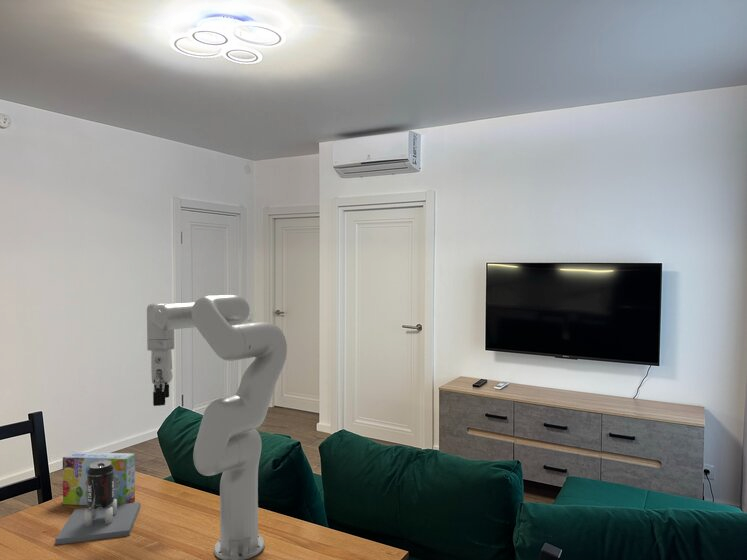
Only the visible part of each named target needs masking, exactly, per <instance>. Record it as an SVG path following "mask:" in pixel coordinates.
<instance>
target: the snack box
mask: <svg viewBox="0 0 747 560" xmlns="http://www.w3.org/2000/svg"><path fill="white" fill-rule="evenodd" d="M102 460H108V461H111V465H113V466H114V499H117V505H119V504H128V503H135V500H136V454H135V453H130V452H129V453H127V452H125V453H123V452H88V451H87V452H86V451H71V453H70V452H69V454H67V455H65V456H62V505H66V506H67V505H68V506H69V505H70V506H71V505H72V506H73V505H74V506H88V504H87V470H88V469H89V468H90V467H89V465H90V464H91V463H94V462H97V461H102Z"/></svg>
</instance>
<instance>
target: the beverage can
mask: <svg viewBox="0 0 747 560" xmlns="http://www.w3.org/2000/svg"><path fill="white" fill-rule="evenodd" d="M89 467H90V468H89V469H88V470H87V504H88V505H87V508H89V507H90V508H92V509H103V508H106V507H108V506H109V505H111V504H112V503H113V502H114V466H113V465H111V461H108V460H102V461H97V462H94V463H91V464H90V465H89Z"/></svg>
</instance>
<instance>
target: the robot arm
mask: <svg viewBox="0 0 747 560" xmlns="http://www.w3.org/2000/svg"><path fill="white" fill-rule="evenodd" d="M250 308H251V307H250V304H249V303H248V302H247V300H246V299H245V298H243V297H242V296H239V295H235V294H220V295H219V294H217V295H216V294H215V295H205V296H201V297H200V298H198V299H197V300H196V301H195V302H194V301H192V302H177V303H176V302H174V303H170V302H155V303H154V302H153V303H149V304H148V305H147V308H146V339H147V340H146V342H147V343H146V347H147V348H146V350H147V351H148V352H151V353H150V354H151V355H150V360H151V362H150V364H151V366H150V367H151V370H150V371H151V373H150V374H151V384H153V392H152V398H153V399H152V401H153V402H152V403H153V406H154V407H157V406H159V407H161V406H165V405H166V398H169V397H170V382H171V381H172V380H173V376H174V375H173V356H172V355H173V354H172V350H175V330H181V329H191V328H196V329H197V330H198V332H199V333H200V334H201V336H202V337H203V338H204V340H205V341H206V342H207V344H208V345H209V346H210V348H211V349H212V350H213V352H214V353H215V354H216V355H217V356H218V357H219V358H221V360H224V361H228V362H233V361H240V360H245V359H251V358H254V360H253V361H252V362H251V363H250V364H249V366H248V367H247V368H246V370H245V371H244V372H243V374H242V377H241V380H240V383H239V387H238V388H237V390H236V391H235V393H233V394H231V395H227V396H223V397H220V398H218V399H215V400H213V401H211V402H210V403H209V404H208V405H207V407H206V408H205V410H204V412H203V415H202V419H201V422H200V425H199V429H198V432H197V436H196V439H195V443H194V447H193V454H192V457H193V458H192V459H193V465H194V466H195V469H196V471H197V472H198V473H199V474H201V475H202V476H207V477H211V476H215V475H218V474H220V473H221V474H222V475H221V478H220V483H219V518H220V519H219V522H220V526H219V528H220V530H219V531H220V533H219V534H220V537H219V539H218V540H217V542H216V543H214V547H213V551H214V555H215V556H216V557H217V559H220V560H249V559H251V558H253V557H255V556H257V555H258V554H260V553H261V552H262V551H263V549H264V547H265V541H264V540H265V539H264V538H263V536H261V535H260V534H259V503H258V502H259V492H258V490H259V489H258V488H259V482H258V481H259V466H260V465H259V463H260V460H261V453H262V437H261V434H260V433H259V431H258V430H257V428H260V427H261V425H262V424H263V422H264V421H265V419H266V416H267V413H268V411H269V408H270V404H271V400H272V398H273V394H274V392H275V388H276V385H277V382H278V379H279V378H280V375H281V373H282V370H283V368H284V366H285V363H286V360H287V354H288V346H287V345H288V344H287V340H286V339H287V338H286V337H285V334H284V332H283V330H282V329H281V328H280V327H279V326H278V325H276V324H274V323H272V322H265V321H262V322H261V321H259V322H249V323H244V322H246V320H248V318H249V315H250Z"/></svg>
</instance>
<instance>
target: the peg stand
mask: <svg viewBox="0 0 747 560" xmlns="http://www.w3.org/2000/svg"><path fill="white" fill-rule="evenodd" d="M140 509H141V501H138V502H132V503H128V504H119V505H117V499H114V502H113V503H112V504H111V505H109V506H108V507H106V508H103V509H92V508H90V507H84V508H82V507H81V508H75V509H74V510H73V512H72V513H71V514H70V516H69V517H68V519H67V521H66V522H65V524H64V526H63V527H62V528H61V530H60V532H59V533H58V534H57V536H56V537H55V539H54V540H55V543H54V544H55V545H65V544H72V543H73V544H74V543H80V542H81V543H82V542H89V541H97V540H105V539H113V538H114V539H115V538H120V537H129V536H130V535H131V532H132V530H133V528H134V524H135V522H136V520H137V517H138V515H139V512H140Z"/></svg>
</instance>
